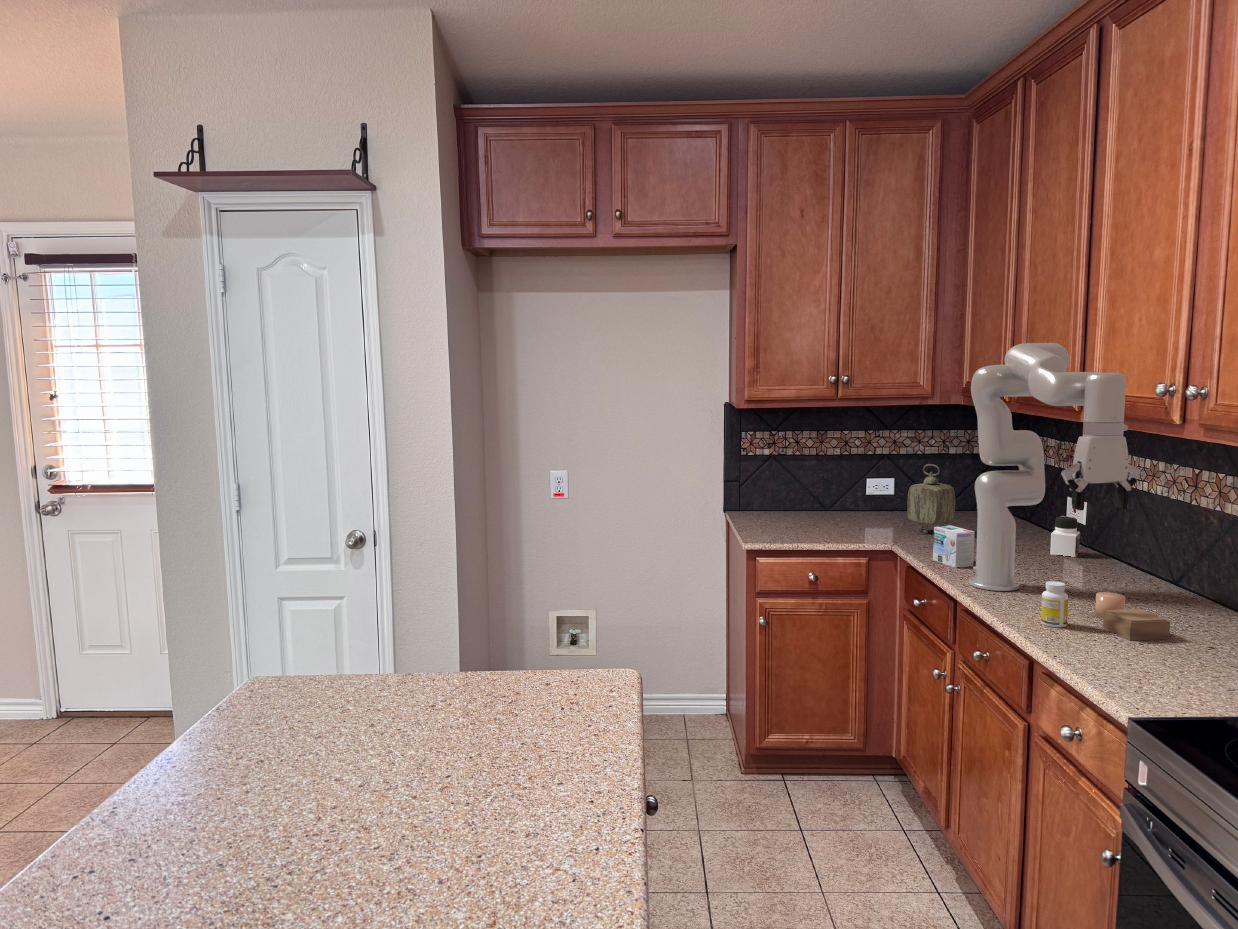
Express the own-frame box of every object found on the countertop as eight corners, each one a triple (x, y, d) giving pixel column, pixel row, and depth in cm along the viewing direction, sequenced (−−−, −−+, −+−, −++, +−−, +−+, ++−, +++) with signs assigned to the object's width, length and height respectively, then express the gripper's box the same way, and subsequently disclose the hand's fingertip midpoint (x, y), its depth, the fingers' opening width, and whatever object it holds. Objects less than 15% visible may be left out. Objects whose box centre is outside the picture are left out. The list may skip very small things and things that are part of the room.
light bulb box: (931, 560, 255) (933, 526, 254) (950, 558, 257) (951, 524, 256) (955, 568, 245) (957, 532, 244) (974, 566, 247) (975, 531, 246)
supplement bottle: (1058, 620, 194) (1060, 580, 193) (1072, 627, 188) (1074, 586, 187) (1036, 621, 194) (1038, 580, 193) (1048, 628, 188) (1050, 586, 187)
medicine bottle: (1075, 557, 256) (1077, 519, 254) (1050, 555, 260) (1051, 517, 258) (1079, 553, 261) (1081, 516, 260) (1054, 550, 265) (1055, 514, 264)
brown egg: (1089, 612, 200) (1090, 592, 199) (1113, 611, 200) (1114, 591, 200) (1105, 620, 194) (1106, 599, 193) (1130, 619, 194) (1131, 598, 194)
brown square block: (1102, 627, 188) (1103, 609, 188) (1140, 626, 189) (1141, 608, 188) (1129, 640, 179) (1130, 621, 179) (1168, 639, 180) (1170, 620, 179)
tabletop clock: (954, 534, 293) (956, 465, 290) (938, 537, 288) (940, 467, 285) (920, 528, 305) (922, 461, 302) (903, 531, 300) (905, 463, 297)
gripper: (1129, 428, 181) (1125, 505, 183) (1054, 430, 180) (1050, 507, 182) (1153, 430, 174) (1149, 510, 176) (1075, 432, 173) (1072, 512, 174)
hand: (1099, 508), depth 179 cm, fingers open, 9 cm apart
